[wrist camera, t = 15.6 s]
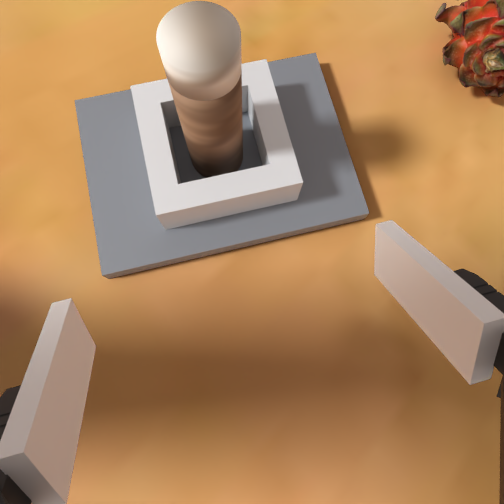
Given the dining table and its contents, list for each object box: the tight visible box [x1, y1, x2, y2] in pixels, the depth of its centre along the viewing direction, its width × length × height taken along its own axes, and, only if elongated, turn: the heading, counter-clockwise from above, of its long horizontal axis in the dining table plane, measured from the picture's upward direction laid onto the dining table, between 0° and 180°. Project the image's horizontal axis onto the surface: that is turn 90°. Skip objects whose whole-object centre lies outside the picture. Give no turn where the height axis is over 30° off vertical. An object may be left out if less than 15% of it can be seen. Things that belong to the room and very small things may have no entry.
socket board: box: [75, 53, 369, 279], centre depth 32 cm, size 22×16×5 cm
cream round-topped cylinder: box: [156, 1, 243, 178], centre depth 26 cm, size 4×4×13 cm
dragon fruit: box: [435, 0, 504, 97], centre depth 34 cm, size 8×8×12 cm
